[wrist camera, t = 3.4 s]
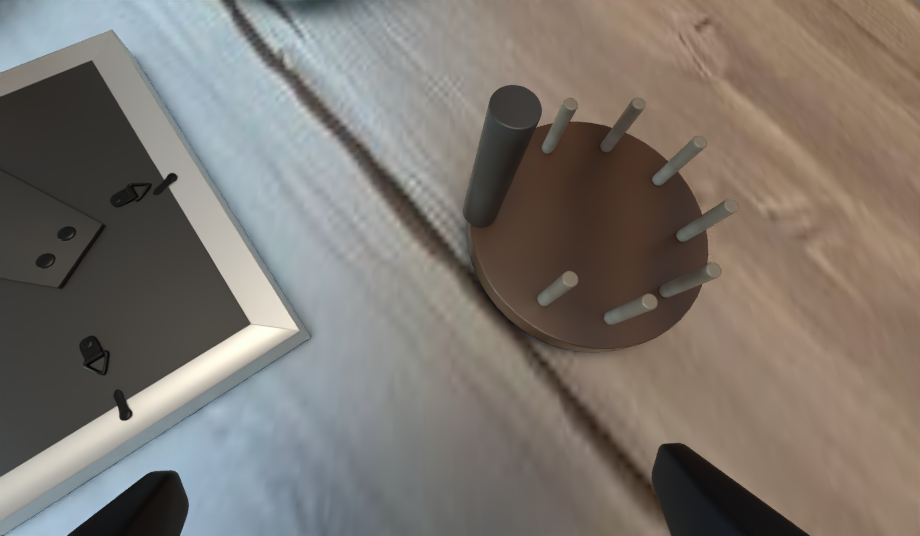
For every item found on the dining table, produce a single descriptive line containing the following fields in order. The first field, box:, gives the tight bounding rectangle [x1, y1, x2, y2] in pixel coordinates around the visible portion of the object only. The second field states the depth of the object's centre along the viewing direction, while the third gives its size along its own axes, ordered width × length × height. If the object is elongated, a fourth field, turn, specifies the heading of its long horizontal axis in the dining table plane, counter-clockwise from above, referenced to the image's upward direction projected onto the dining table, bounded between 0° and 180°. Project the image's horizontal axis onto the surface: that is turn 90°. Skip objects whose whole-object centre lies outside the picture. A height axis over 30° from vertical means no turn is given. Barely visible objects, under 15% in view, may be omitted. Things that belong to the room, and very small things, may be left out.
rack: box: [463, 85, 739, 352], centre depth 19 cm, size 13×13×10 cm
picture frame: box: [0, 30, 310, 536], centre depth 20 cm, size 16×3×21 cm
